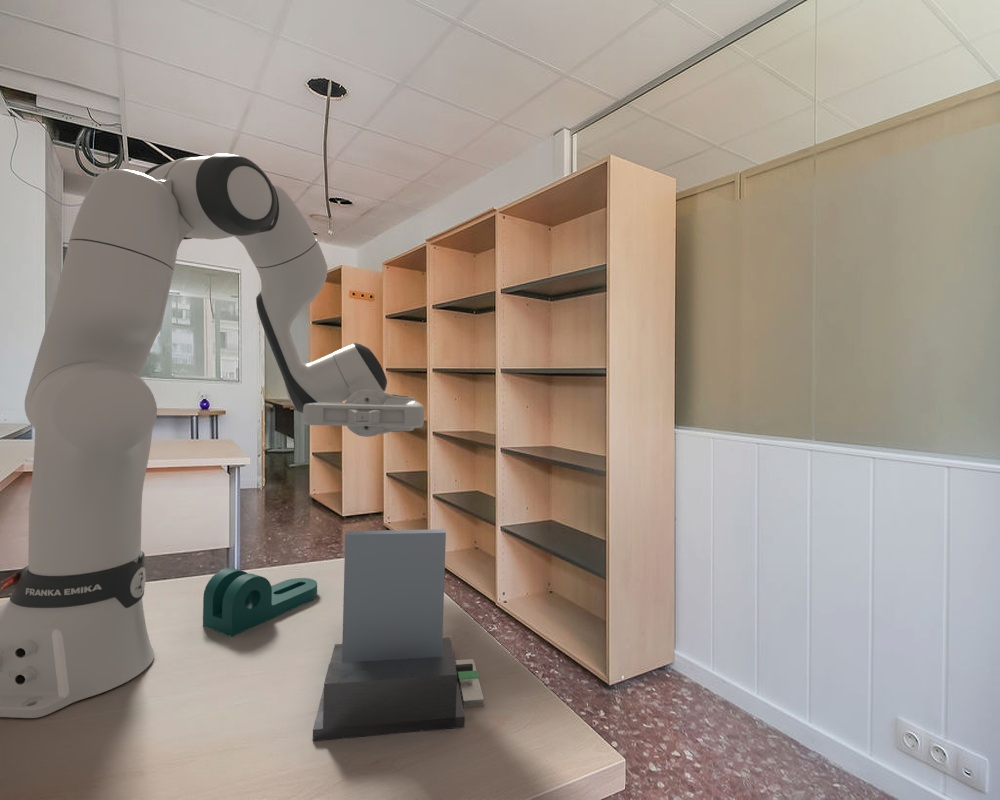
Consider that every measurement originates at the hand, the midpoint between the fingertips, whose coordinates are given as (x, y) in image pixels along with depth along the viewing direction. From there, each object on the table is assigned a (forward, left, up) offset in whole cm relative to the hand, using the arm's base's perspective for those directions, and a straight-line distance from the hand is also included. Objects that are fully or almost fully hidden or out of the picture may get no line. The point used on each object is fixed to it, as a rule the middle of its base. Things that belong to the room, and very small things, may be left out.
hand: (362, 417), depth 83 cm
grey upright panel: (+8, -21, -31) cm, 38 cm away
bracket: (-14, +4, -32) cm, 36 cm away
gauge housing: (+7, -21, -32) cm, 39 cm away
